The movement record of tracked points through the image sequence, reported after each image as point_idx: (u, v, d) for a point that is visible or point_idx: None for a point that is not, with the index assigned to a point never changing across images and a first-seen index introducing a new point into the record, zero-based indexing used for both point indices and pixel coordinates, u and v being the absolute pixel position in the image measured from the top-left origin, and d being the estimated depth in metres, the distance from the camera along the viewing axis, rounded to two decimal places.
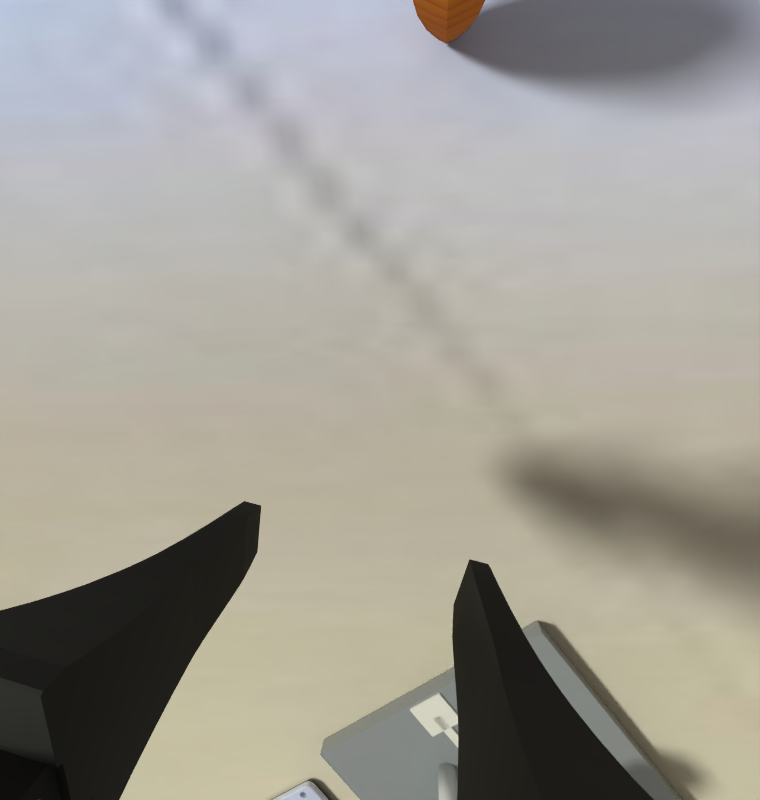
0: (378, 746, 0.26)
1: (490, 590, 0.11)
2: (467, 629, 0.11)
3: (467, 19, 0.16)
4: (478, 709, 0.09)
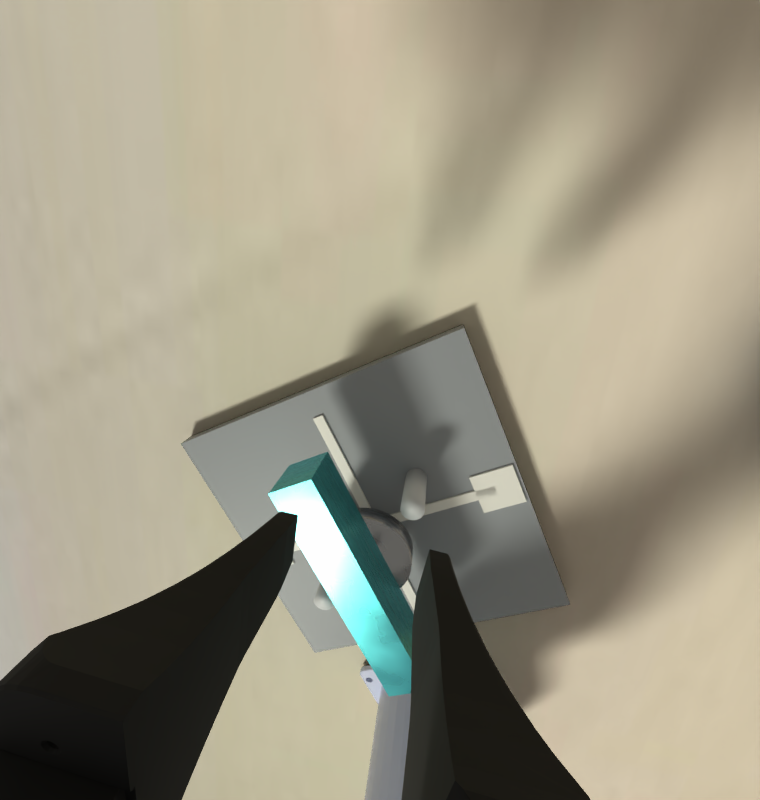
0: (307, 607, 0.27)
1: (444, 578, 0.11)
2: (422, 617, 0.11)
3: None
4: (423, 693, 0.09)
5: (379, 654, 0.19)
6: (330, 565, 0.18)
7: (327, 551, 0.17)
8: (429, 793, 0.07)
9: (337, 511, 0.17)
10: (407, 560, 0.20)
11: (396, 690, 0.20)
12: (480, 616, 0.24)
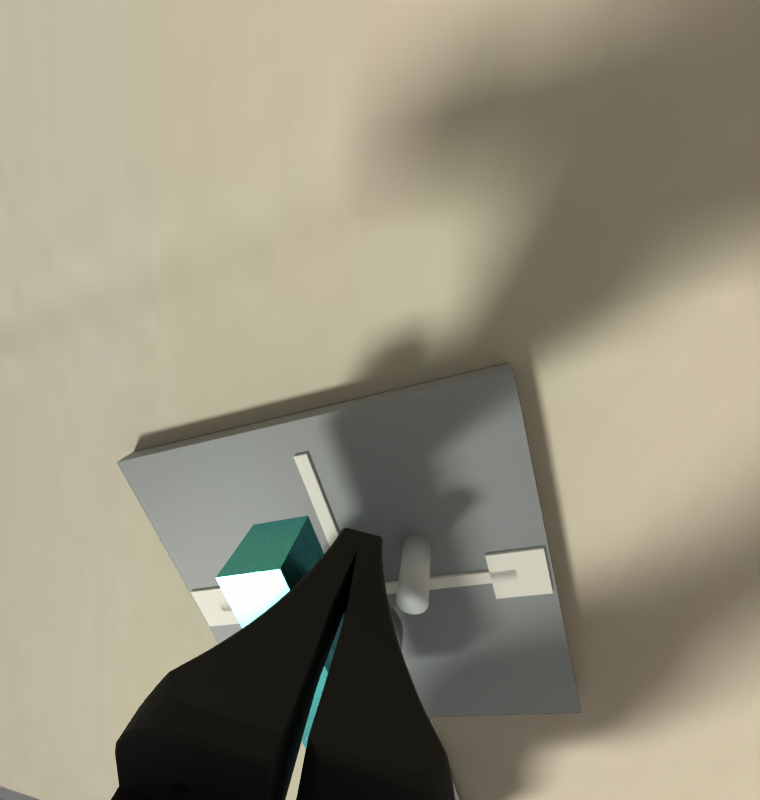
0: None
1: (369, 558, 0.11)
2: (348, 596, 0.11)
3: None
4: None
5: None
6: None
7: None
8: None
9: None
10: None
11: None
12: (469, 711, 0.20)
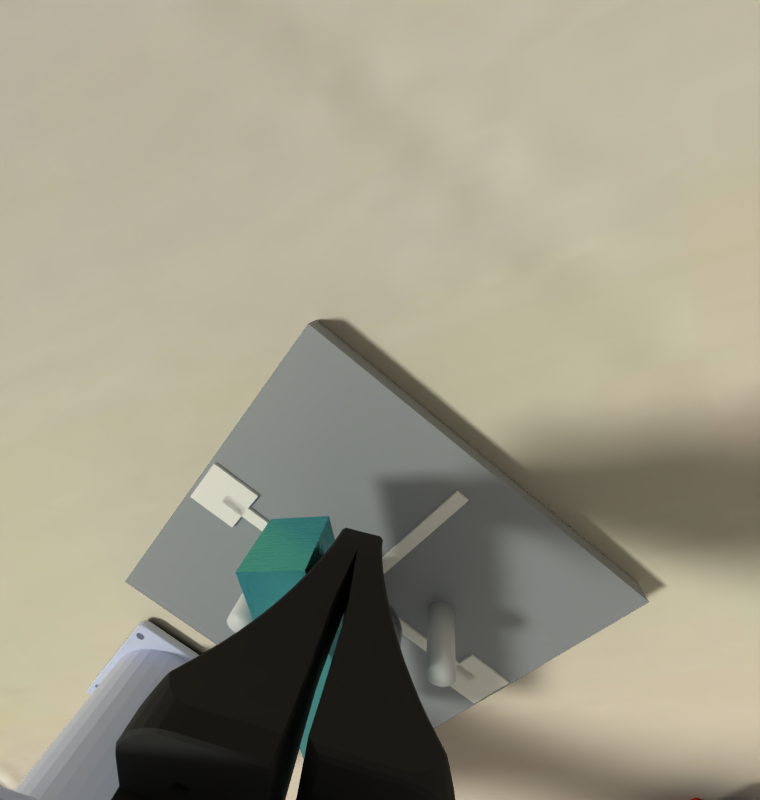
0: (181, 556, 0.19)
1: (368, 558, 0.11)
2: (348, 596, 0.11)
3: None
4: None
5: None
6: None
7: None
8: None
9: None
10: None
11: None
12: None
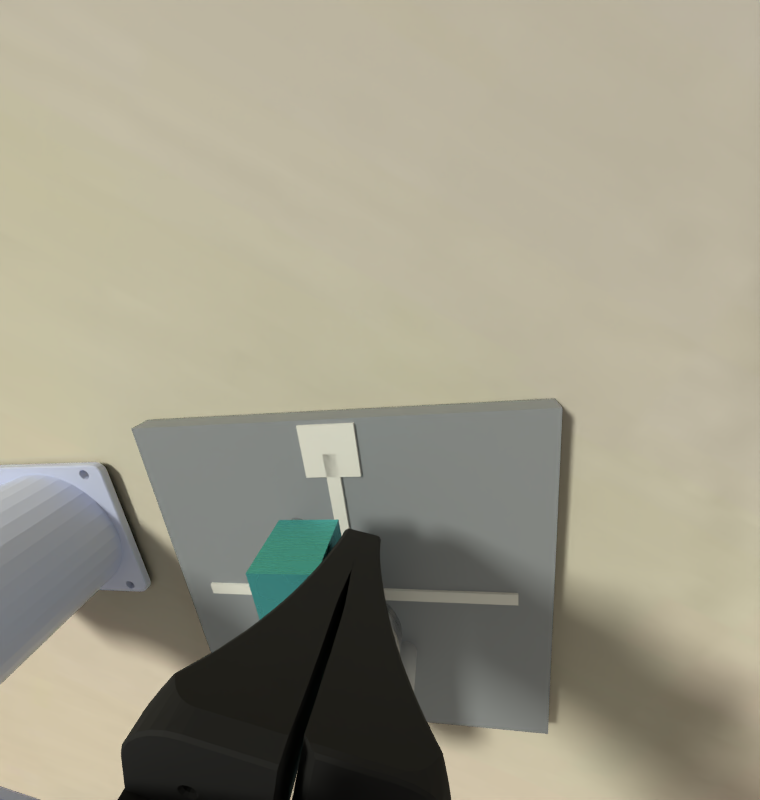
0: (222, 457, 0.17)
1: (366, 557, 0.11)
2: None
3: None
4: None
5: None
6: None
7: None
8: None
9: None
10: None
11: None
12: (211, 636, 0.21)
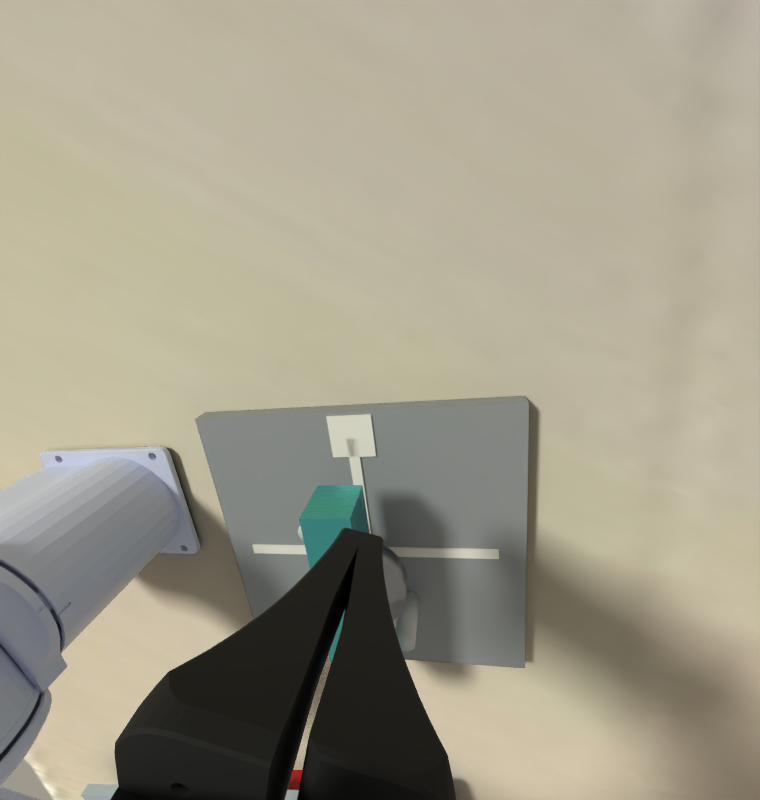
0: (267, 441, 0.22)
1: (369, 558, 0.11)
2: (348, 597, 0.11)
3: None
4: None
5: None
6: None
7: None
8: None
9: None
10: (401, 603, 0.20)
11: None
12: (250, 591, 0.26)
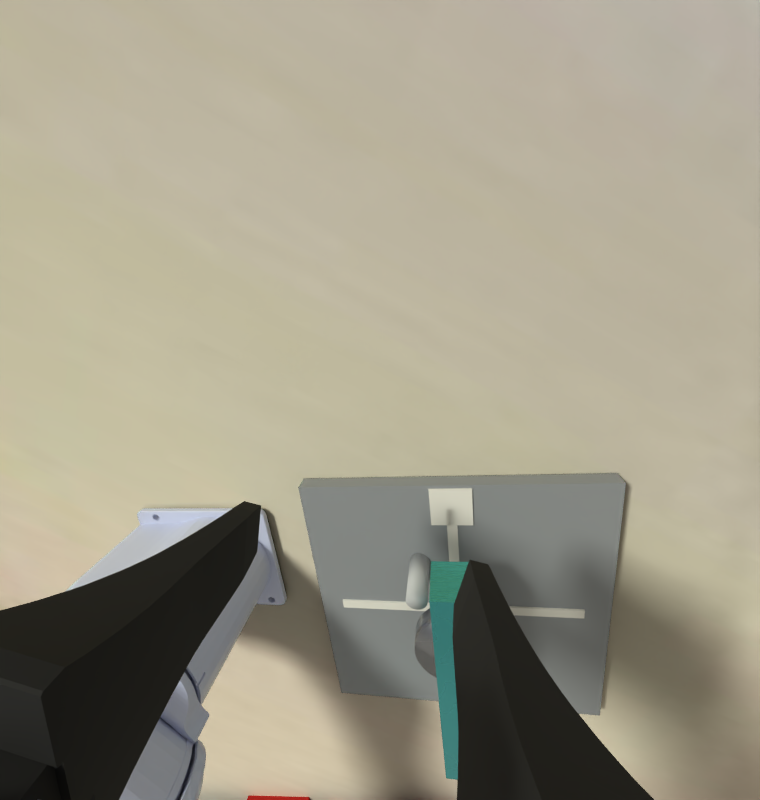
0: (367, 508, 0.23)
1: (490, 590, 0.11)
2: (467, 629, 0.11)
3: None
4: (478, 709, 0.09)
5: (457, 746, 0.21)
6: (454, 670, 0.19)
7: None
8: None
9: None
10: None
11: (456, 775, 0.21)
12: (335, 640, 0.27)
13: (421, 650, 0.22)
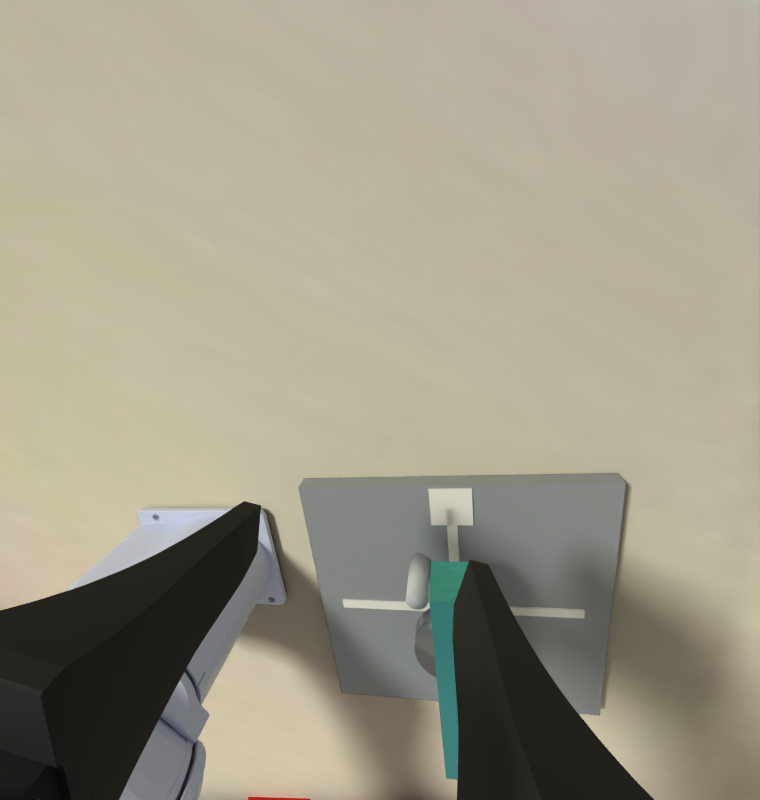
0: (367, 508, 0.23)
1: (490, 590, 0.11)
2: (467, 629, 0.11)
3: None
4: (478, 709, 0.09)
5: (457, 746, 0.21)
6: (454, 670, 0.19)
7: None
8: None
9: None
10: None
11: (456, 775, 0.21)
12: (335, 640, 0.27)
13: (421, 650, 0.22)
